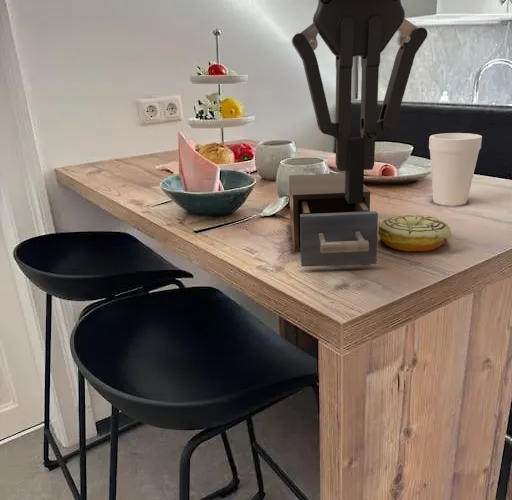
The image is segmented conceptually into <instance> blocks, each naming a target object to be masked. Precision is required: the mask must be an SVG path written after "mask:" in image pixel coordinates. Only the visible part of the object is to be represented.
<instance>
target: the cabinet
mask: <svg viewBox="0 0 512 500" xmlns="http://www.w3.org/2000/svg"><path fill="white" fill-rule="evenodd" d="M288 185H289V186H288V187H289V188H288V189H289V225H290V231H291V237H292V238H291V239H292V245H293V251H294V252H301V239H300V200H304V199H328V198H345V172H337V173H336V172H335V173H334V172H333V173H315V174H314V173H313V174H311V173H310V174H293V175H292V174H291V175H288ZM363 202H364V204H365V205H366V206H367V208H368V209H369V211H371V191H370V189H369V188H368V187H367V186H366V185H365V184H364V186H363Z"/></svg>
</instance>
